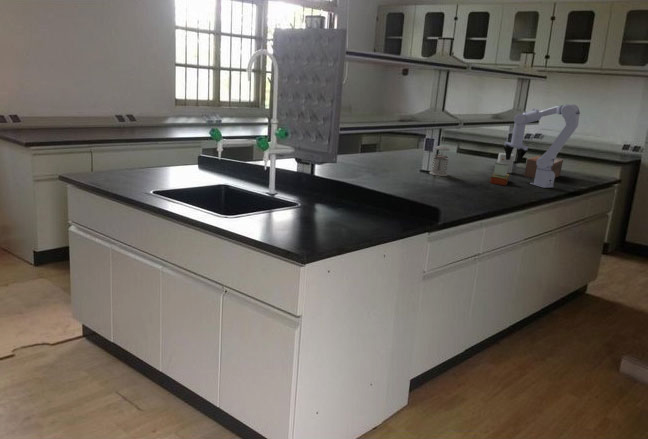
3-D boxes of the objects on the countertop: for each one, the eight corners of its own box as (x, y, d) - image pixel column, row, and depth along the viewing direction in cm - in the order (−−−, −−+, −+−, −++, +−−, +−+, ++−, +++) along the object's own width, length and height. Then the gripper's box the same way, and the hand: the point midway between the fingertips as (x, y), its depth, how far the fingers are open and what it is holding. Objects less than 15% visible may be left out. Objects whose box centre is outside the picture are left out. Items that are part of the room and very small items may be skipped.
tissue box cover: (549, 181, 323) (553, 163, 320) (523, 176, 330) (527, 159, 327) (559, 176, 344) (563, 159, 341) (535, 171, 351) (538, 155, 348)
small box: (509, 171, 340) (512, 154, 337) (511, 173, 334) (514, 155, 332) (495, 170, 340) (498, 152, 337) (497, 171, 335) (500, 153, 332)
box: (506, 175, 303) (509, 163, 302) (503, 176, 299) (505, 164, 298) (497, 173, 306) (499, 161, 305) (493, 174, 302) (495, 162, 301)
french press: (448, 173, 312) (455, 127, 305) (446, 177, 301) (454, 129, 294) (430, 171, 314) (437, 125, 308) (427, 174, 304) (435, 127, 297)
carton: (508, 181, 310) (509, 173, 309) (506, 186, 295) (507, 178, 294) (492, 179, 312) (494, 171, 311) (489, 183, 298) (490, 175, 297)
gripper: (533, 138, 305) (528, 163, 309) (512, 134, 317) (508, 158, 321) (524, 138, 302) (519, 163, 305) (503, 133, 314) (499, 158, 317)
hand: (513, 161), depth 313 cm, fingers open, 7 cm apart
